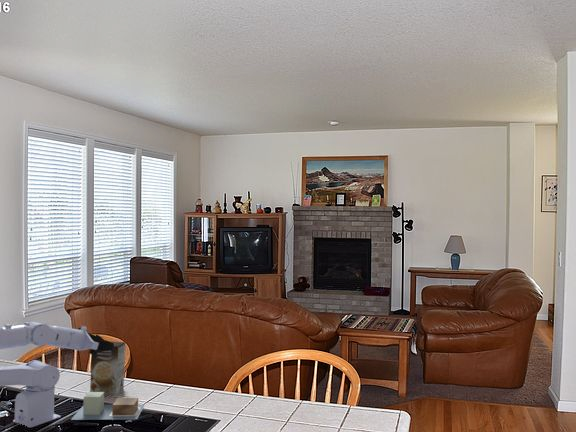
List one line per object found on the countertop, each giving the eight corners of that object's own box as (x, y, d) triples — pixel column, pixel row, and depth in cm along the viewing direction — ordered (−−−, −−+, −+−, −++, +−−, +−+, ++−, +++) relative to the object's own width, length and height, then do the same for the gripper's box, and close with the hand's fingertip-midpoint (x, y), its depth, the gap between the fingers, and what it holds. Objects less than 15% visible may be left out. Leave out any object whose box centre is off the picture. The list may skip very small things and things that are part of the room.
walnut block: (112, 415, 148) (112, 404, 148) (117, 408, 154) (117, 397, 154) (133, 415, 149) (134, 404, 149) (138, 407, 155) (138, 397, 155)
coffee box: (88, 395, 166) (90, 344, 166) (98, 389, 173) (99, 340, 173) (116, 396, 165) (117, 346, 166) (124, 390, 172) (126, 341, 172)
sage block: (83, 414, 148) (83, 397, 148) (87, 409, 153) (88, 391, 153) (99, 414, 149) (99, 396, 149) (103, 409, 153) (104, 391, 153)
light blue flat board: (70, 421, 144) (70, 419, 144) (83, 406, 156) (83, 404, 156) (136, 420, 146) (137, 418, 146) (145, 405, 158) (145, 404, 158)
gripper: (83, 329, 147) (123, 336, 157) (58, 319, 156) (97, 325, 166) (75, 354, 146) (115, 359, 156) (50, 342, 155) (90, 347, 165)
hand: (105, 343), depth 161 cm, fingers open, 7 cm apart
